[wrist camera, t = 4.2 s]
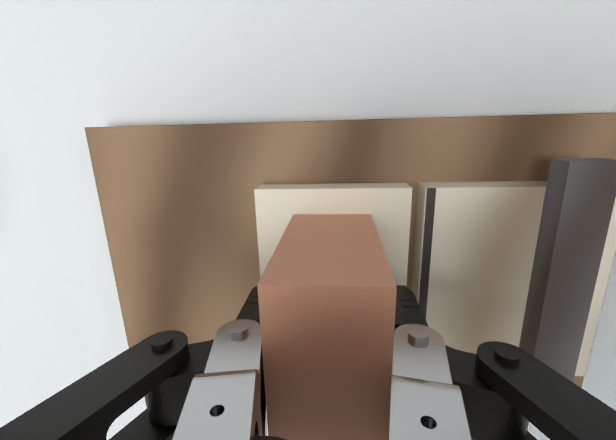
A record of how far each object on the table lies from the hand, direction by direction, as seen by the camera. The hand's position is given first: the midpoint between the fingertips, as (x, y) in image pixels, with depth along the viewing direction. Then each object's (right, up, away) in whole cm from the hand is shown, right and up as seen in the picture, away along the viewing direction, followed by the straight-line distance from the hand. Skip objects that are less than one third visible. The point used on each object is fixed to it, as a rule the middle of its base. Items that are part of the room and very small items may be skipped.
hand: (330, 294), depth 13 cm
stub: (0, +1, +2) cm, 2 cm away
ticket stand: (+1, +1, +3) cm, 4 cm away
